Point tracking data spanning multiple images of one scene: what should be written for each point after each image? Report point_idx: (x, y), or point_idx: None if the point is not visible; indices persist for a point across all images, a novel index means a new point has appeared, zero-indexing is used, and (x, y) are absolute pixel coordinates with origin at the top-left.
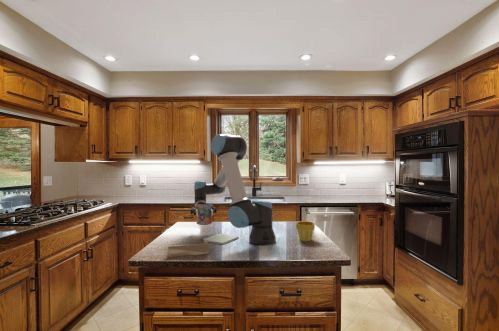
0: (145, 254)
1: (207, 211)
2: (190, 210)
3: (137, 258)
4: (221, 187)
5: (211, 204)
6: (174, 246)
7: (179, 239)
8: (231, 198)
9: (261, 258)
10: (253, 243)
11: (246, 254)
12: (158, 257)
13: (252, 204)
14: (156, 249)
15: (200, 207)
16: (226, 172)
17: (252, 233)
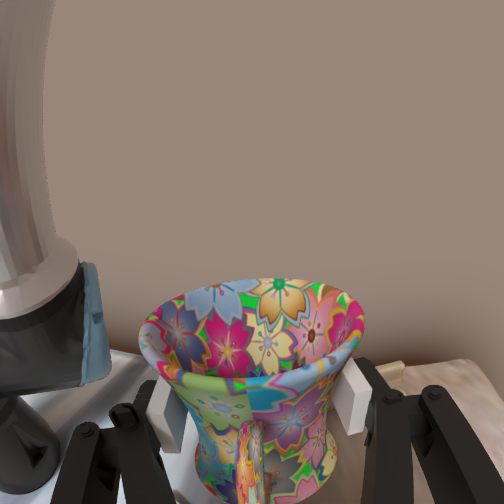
0: (478, 391)
1: (226, 340)
2: (439, 393)
3: (472, 368)
4: None
5: (146, 332)
6: (381, 366)
7: None
8: (48, 236)
9: (123, 361)
10: (58, 446)
11: (138, 387)
12: (422, 382)
13: None
14: (483, 433)
15: (288, 289)
16: (47, 41)
17: (32, 430)
